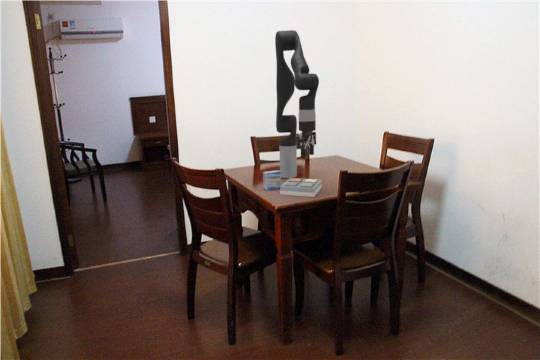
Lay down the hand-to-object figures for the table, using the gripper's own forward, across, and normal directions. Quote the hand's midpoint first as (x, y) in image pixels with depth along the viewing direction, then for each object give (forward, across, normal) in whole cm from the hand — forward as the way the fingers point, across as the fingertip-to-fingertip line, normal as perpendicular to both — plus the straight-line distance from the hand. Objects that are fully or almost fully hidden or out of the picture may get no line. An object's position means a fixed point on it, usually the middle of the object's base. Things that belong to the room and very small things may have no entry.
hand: (307, 156), depth 182 cm
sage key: (+15, -1, -1) cm, 15 cm away
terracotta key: (+15, -7, -9) cm, 19 cm away
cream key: (+15, -8, -2) cm, 17 cm away
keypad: (+18, -4, -5) cm, 19 cm away
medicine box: (+18, -2, -20) cm, 27 cm away
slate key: (+15, +1, -8) cm, 17 cm away
